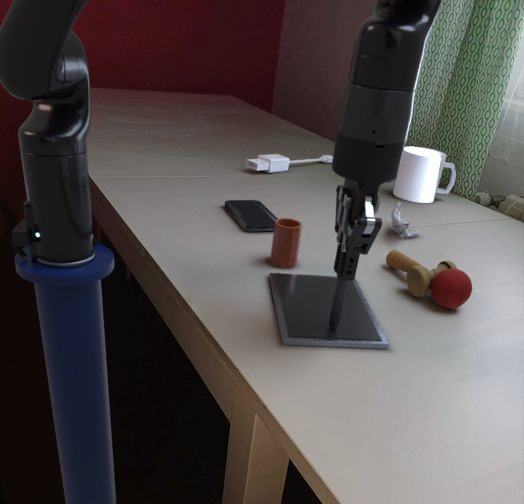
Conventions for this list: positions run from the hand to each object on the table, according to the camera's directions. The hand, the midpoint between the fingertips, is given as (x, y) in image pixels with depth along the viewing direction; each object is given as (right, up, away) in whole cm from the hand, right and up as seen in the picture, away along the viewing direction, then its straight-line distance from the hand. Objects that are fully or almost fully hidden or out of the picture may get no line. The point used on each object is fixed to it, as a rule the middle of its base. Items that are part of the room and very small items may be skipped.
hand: (343, 275), depth 68 cm
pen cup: (-7, +5, +23) cm, 25 cm away
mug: (+28, +28, +65) cm, 77 cm away
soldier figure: (+17, +15, +42) cm, 48 cm away
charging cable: (-2, +40, +78) cm, 87 cm away
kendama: (+16, 0, +20) cm, 25 cm away
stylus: (-1, -7, +4) cm, 8 cm away
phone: (-12, +17, +40) cm, 45 cm away
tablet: (-2, -4, +10) cm, 11 cm away
